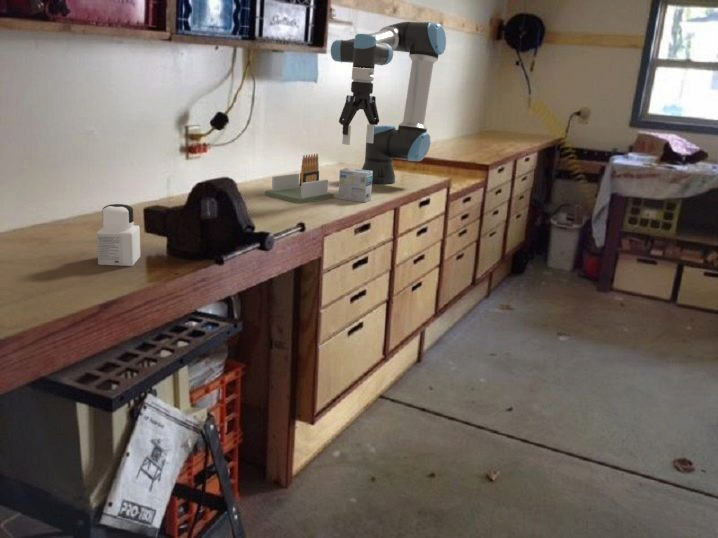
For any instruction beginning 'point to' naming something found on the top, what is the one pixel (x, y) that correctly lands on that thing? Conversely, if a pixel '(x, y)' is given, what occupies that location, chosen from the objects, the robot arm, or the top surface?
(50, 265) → the top surface
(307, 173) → the ammunition clip
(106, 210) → the container
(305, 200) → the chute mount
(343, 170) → the light bulb box
